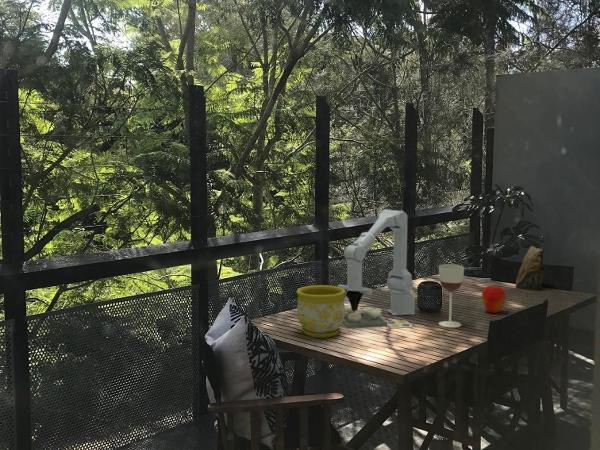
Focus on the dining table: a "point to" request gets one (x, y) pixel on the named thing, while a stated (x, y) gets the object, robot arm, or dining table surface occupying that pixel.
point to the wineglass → (451, 285)
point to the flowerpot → (320, 310)
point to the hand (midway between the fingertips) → (354, 310)
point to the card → (398, 324)
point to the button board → (364, 321)
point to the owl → (531, 270)
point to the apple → (493, 298)
